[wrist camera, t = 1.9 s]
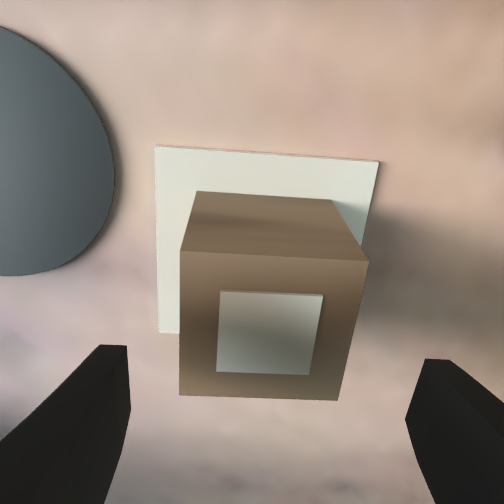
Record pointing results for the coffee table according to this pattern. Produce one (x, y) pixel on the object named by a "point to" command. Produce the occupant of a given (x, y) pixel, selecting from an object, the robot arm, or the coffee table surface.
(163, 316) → the tile
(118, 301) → the coffee table surface
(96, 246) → the coffee table surface
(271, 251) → the walnut block
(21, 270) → the slate coaster
